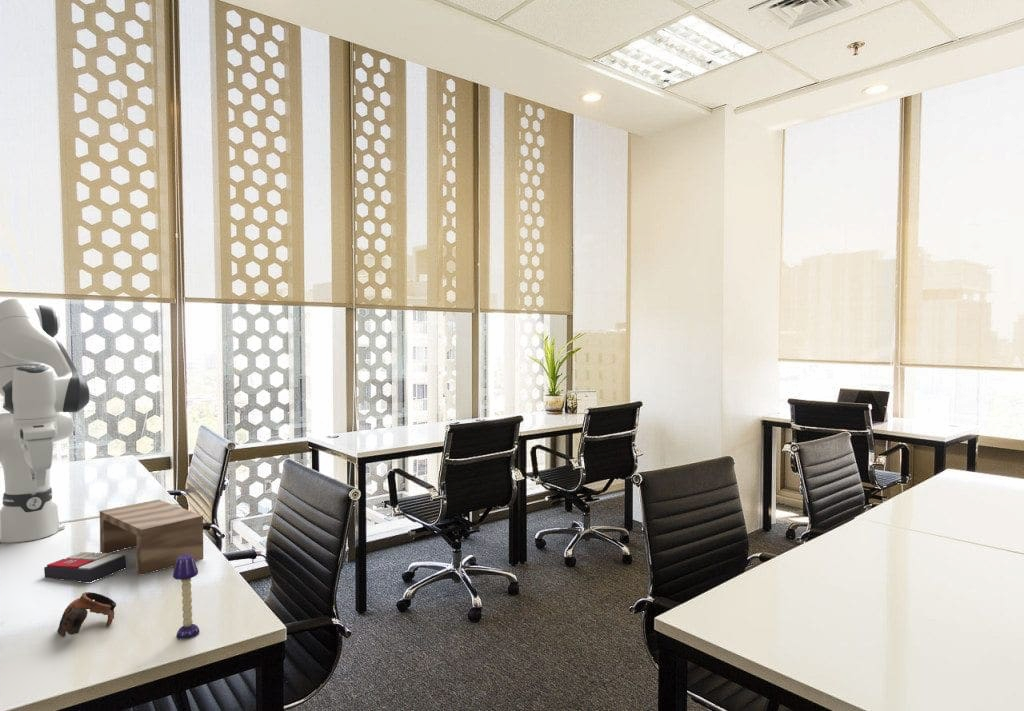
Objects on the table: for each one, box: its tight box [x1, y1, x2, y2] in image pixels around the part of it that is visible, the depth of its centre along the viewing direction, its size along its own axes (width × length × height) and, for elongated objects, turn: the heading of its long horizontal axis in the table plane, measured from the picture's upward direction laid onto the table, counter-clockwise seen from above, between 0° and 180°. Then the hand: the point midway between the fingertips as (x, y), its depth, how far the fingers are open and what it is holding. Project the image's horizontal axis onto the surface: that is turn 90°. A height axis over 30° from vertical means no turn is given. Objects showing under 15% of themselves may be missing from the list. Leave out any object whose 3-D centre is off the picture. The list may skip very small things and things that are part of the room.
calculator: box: [43, 551, 127, 583], centre depth 161 cm, size 11×4×15 cm
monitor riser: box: [99, 499, 204, 576], centre depth 174 cm, size 28×16×12 cm, turn 53°
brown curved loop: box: [56, 591, 117, 638], centre depth 130 cm, size 12×10×8 cm
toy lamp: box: [172, 554, 201, 640], centre depth 128 cm, size 5×5×17 cm
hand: (38, 483), depth 155 cm, fingers open, 8 cm apart
